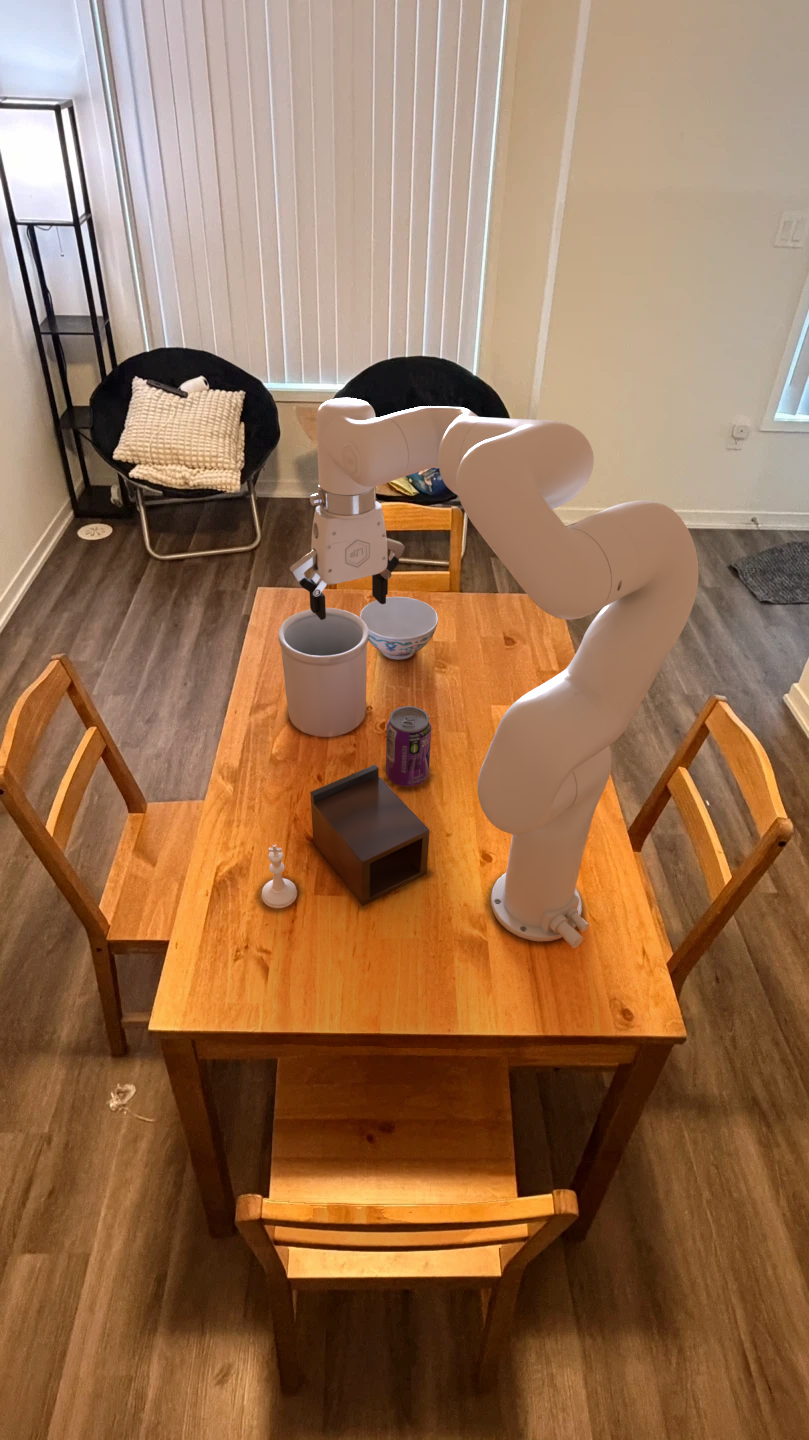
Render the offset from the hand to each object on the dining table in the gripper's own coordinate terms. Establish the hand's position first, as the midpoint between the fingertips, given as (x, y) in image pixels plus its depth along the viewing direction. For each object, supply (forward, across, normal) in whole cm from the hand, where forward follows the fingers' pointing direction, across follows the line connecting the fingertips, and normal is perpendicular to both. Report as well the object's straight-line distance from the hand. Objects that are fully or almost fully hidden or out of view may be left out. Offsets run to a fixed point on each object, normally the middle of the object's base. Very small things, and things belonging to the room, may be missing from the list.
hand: (349, 607), depth 125 cm
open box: (+29, -8, -21) cm, 37 cm away
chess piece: (+30, -22, -22) cm, 43 cm away
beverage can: (+29, +6, -8) cm, 31 cm away
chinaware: (+29, +22, +25) cm, 44 cm away
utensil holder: (+29, +1, +13) cm, 32 cm away
